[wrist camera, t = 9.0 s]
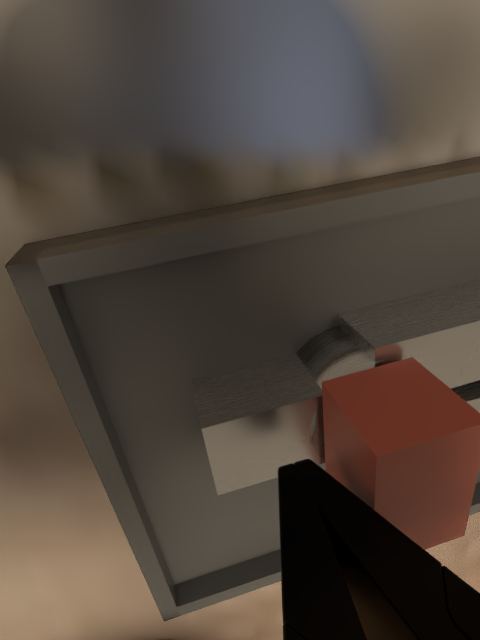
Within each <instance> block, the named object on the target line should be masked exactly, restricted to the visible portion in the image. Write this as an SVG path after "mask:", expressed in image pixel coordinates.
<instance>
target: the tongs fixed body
mask: <svg viewBox="0 0 480 640" xmlns="http://www.w3.org/2000/svg"><path fill="white" fill-rule="evenodd" d="M411 357H413V358H414V359H415V360H417V361H418V362H419V363H420V364H421V365H423V366H424V367H425V368H426V369H427V370H429V371H430V372H431V373H432V374H433V375H435V376H436V377H437V378H438V379H439V380H441V381H442V382H443V383H444V384H445V385H447V386H448V387H449V388H450V389H451V388H454V387H458V386H461V385H465V384H468V383H471V382H475V381H478V380H480V279H476V280H472V281H468V282H464V283H460V284H456V285H452V286H448V287H444V288H440V289H436V290H432V291H427V292H423V293H419V294H415V295H411V296H407V297H403V298H399V299H395V300H391V301H387V302H383V303H379V304H374V305H370V306H366V307H362V308H358V309H354V310H350V311H346V312H342V313H338V326H335V327H332V328H329V329H327V330H324V331H322V332H321V333H319V334H317V335H316V336H314V337H313V338H311V339H310V340H309V341H308V342H307V343H305V344H304V345H303V346H302V347H301V348H300V350H299V351H298V352H297V353H296V354H293V355H289V356H285V357H282V358H278V359H274V360H270V361H266V362H262V363H258V364H254V365H250V366H247V367H243V368H239V369H235V370H231V371H227V372H223V373H219V374H215V375H212V376H208V377H204V378H200V379H196V380H192V381H191V385H192V389H193V394H194V398H195V403H196V407H197V412H198V416H199V420H200V425H201V429H202V433H203V437H204V442H205V446H206V450H207V454H208V458H209V462H210V466H211V470H212V474H213V478H214V482H215V486H216V491H217V495H221V494H225V493H228V492H231V491H234V490H238V489H241V488H244V487H247V486H251V485H254V484H257V483H261V482H264V481H267V480H270V479H274V478H277V477H278V468H279V467H280V466H284V465H287V464H290V463H293V464H294V463H295V462H297V461H300V460H304V459H311V460H312V461H313V462H315V463H316V464H317V465H320V464H323V463H325V444H324V421H323V399H322V382H323V381H326V380H330V379H334V378H337V377H341V376H345V375H348V374H352V373H356V372H359V371H363V370H367V369H370V368H374V367H378V366H381V365H385V364H389V363H392V362H396V361H400V360H404V359H407V358H411Z"/></svg>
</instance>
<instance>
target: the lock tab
mask: <svg viewBox="0 0 480 640" xmlns="http://www.w3.org/2000/svg"><path fill="white" fill-rule="evenodd" d="M322 399H323V421H324V444H325V467H326V472H327V473H329V474H330V475H331V476H332V477H334V478H335V479H336V480H337V481H339V482H340V483H341V484H342V485H344V486H345V487H346V488H347V489H349V490H350V491H351V492H352V493H354V494H355V495H356V496H357V497H359V498H360V499H361V500H362V501H364V502H365V503H366V504H367V505H369V506H370V507H371V508H372V509H374V510H375V511H376V512H377V513H379V514H380V515H381V516H383V517H384V518H385V519H386V520H388V521H389V522H390V523H391V524H393V525H394V526H395V527H396V528H398V529H399V530H400V531H401V532H403V533H404V534H405V535H406V536H408V537H409V538H410V539H411V540H413V541H414V542H415V543H416V544H418V545H419V546H420V547H421V548H423V549H424V550H425V549H427V548H430V547H433V546H436V545H439V544H442V543H444V542H447V541H450V540H453V539H456V538H458V537H461V536H464V534H465V530H466V526H467V521H468V517H469V512H470V508H471V503H472V499H473V494H474V490H475V486H476V481H477V477H478V472H479V468H480V413H479V412H478V411H477V410H476V409H474V408H473V407H472V406H471V405H470V404H468V403H467V402H466V401H465V400H464V399H462V398H461V397H460V396H459V395H458V394H456V393H455V392H454V391H453V390H451V389H450V388H449V387H448V386H447V385H445V384H444V383H443V382H442V381H441V380H439V379H438V378H437V377H436V376H435V375H433V374H432V373H431V372H430V371H429V370H427V369H426V368H425V367H424V366H423V365H421V364H420V363H419V362H418V361H417V360H415V359H414V358H413V357H411V358H407V359H404V360H400V361H396V362H392V363H389V364H385V365H381V366H378V367H374V368H370V369H367V370H363V371H359V372H356V373H352V374H348V375H345V376H341V377H337V378H334V379H330V380H326V381H323V382H322Z"/></svg>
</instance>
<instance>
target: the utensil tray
mask: <svg viewBox="0 0 480 640" xmlns="http://www.w3.org/2000/svg"><path fill="white" fill-rule="evenodd" d="M5 266H6V269H7V271H8V273H9V275H10V278H11V280H12V282H13V284H14V287H15V289H16V291H17V293H18V296H19V298H20V300H21V302H22V305H23V307H24V309H25V311H26V313H27V316H28V318H29V320H30V322H31V325H32V327H33V329H34V331H35V334H36V336H37V338H38V340H39V343H40V345H41V347H42V349H43V352H44V354H45V356H46V358H47V360H48V363H49V365H50V367H51V369H52V372H53V374H54V376H55V378H56V381H57V383H58V385H59V387H60V390H61V392H62V394H63V396H64V399H65V401H66V403H67V405H68V407H69V410H70V412H71V414H72V416H73V419H74V421H75V423H76V425H77V428H78V430H79V432H80V434H81V437H82V439H83V441H84V443H85V446H86V448H87V450H88V452H89V454H90V457H91V459H92V461H93V463H94V466H95V468H96V470H97V472H98V475H99V477H100V479H101V481H102V484H103V486H104V488H105V490H106V492H107V495H108V497H109V499H110V501H111V504H112V506H113V508H114V510H115V513H116V515H117V517H118V519H119V522H120V524H121V526H122V528H123V531H124V533H125V535H126V537H127V539H128V542H129V544H130V546H131V548H132V551H133V553H134V555H135V557H136V560H137V562H138V564H139V566H140V569H141V571H142V573H143V575H144V578H145V580H146V582H147V584H148V586H149V589H150V591H151V593H152V595H153V598H154V600H155V602H156V604H157V607H158V609H159V611H160V613H161V616H162V618H163V620H164V621H167V620H169V619H172V618H175V617H178V616H181V615H184V614H187V613H190V612H192V611H195V610H198V609H201V608H204V607H207V606H210V605H213V604H215V603H218V602H221V601H224V600H227V599H230V598H233V597H236V596H238V595H241V594H244V593H247V592H250V591H253V590H256V589H259V588H262V587H264V586H267V585H270V584H273V583H276V582H279V581H281V554H280V526H279V498H278V477H277V478H274V479H270V480H267V481H264V482H261V483H257V484H254V485H251V486H247V487H244V488H241V489H238V490H234V491H231V492H228V493H225V494H221V495H217V491H216V486H215V482H214V478H213V474H212V470H211V466H210V462H209V458H208V454H207V450H206V446H205V442H204V437H203V433H202V429H201V425H200V420H199V416H198V412H197V407H196V403H195V398H194V394H193V389H192V385H191V381H192V380H196V379H200V378H204V377H208V376H212V375H215V374H219V373H223V372H227V371H231V370H235V369H239V368H243V367H247V366H250V365H254V364H258V363H262V362H266V361H270V360H274V359H278V358H282V357H285V356H289V355H293V354H296V353H297V352H298V351H299V350H300V348H301V347H302V346H303V345H304V344H305V343H307V342H308V341H309V340H310V339H311V338H313V337H314V336H316V335H317V334H319V333H321V332H322V331H324V330H327V329H329V328H332V327H335V326H338V313H342V312H346V311H350V310H354V309H358V308H362V307H366V306H370V305H374V304H379V303H383V302H387V301H391V300H395V299H399V298H403V297H407V296H411V295H415V294H419V293H423V292H427V291H432V290H436V289H440V288H444V287H448V286H452V285H456V284H460V283H464V282H468V281H472V280H476V279H480V157H477V158H472V159H467V160H462V161H456V162H451V163H446V164H441V165H436V166H430V167H425V168H420V169H415V170H409V171H404V172H399V173H394V174H389V175H383V176H378V177H373V178H368V179H363V180H357V181H352V182H347V183H342V184H336V185H331V186H326V187H321V188H316V189H310V190H305V191H300V192H295V193H290V194H284V195H279V196H274V197H269V198H263V199H258V200H253V201H248V202H243V203H237V204H232V205H227V206H222V207H217V208H211V209H206V210H201V211H196V212H190V213H185V214H180V215H175V216H170V217H164V218H159V219H154V220H149V221H143V222H138V223H133V224H128V225H123V226H117V227H112V228H107V229H102V230H97V231H91V232H86V233H81V234H76V235H70V236H65V237H60V238H55V239H50V240H44V241H39V242H34V243H29V244H24V245H23V247H22V248H21V249H20V250H19V251H18V252H17V253H16V254H15V255H14V256H13V258H12V259H11V260H10V261H9V262H8V263H7V264H6V265H5ZM318 466H320V467H321V468H322V469H324V470H325V471H326V467H325V463H323V464H320V465H318ZM477 512H480V468H479V472H478V477H477V481H476V486H475V490H474V494H473V499H472V503H471V508H470V512H469V515H472V514H474V513H477Z"/></svg>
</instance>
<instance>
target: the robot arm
mask: <svg viewBox="0 0 480 640" xmlns="http://www.w3.org/2000/svg"><path fill="white" fill-rule="evenodd" d="M278 498H279V526H280V554H281V582H282V610H283V624H284V625H283V640H480V593H479V592H477V591H476V590H475V589H473V588H472V587H471V586H470V585H468V584H467V583H466V582H464V581H463V580H462V579H460V578H459V577H458V576H457V575H455V574H454V573H453V572H452V571H451V570H449V569H448V568H447V567H445V566H441V563H440V562H439V561H438V560H436V559H435V558H434V557H433V556H431V555H430V554H429V553H428V552H426V551H425V550H424V549H423V548H421V547H420V546H419V545H418V544H416V543H415V542H414V541H413V540H411V539H410V538H409V537H408V536H406V535H405V534H404V533H403V532H401V531H400V530H399V529H398V528H396V527H395V526H394V525H393V524H391V523H390V522H389V521H388V520H386V519H385V518H384V517H383V516H381V515H380V514H379V513H377V512H376V511H375V510H374V509H372V508H371V507H370V506H369V505H367V504H366V503H365V502H364V501H362V500H361V499H360V498H359V497H357V496H356V495H355V494H354V493H352V492H351V491H350V490H349V489H347V488H346V487H345V486H344V485H342V484H341V483H340V482H339V481H337V480H336V479H335V478H334V477H332V476H331V475H330V474H329V473H327V472H326V471H325V470H324V469H322V468H321V467H320V466H318V465H317V464H316V463H315V462H313V461H312V460H311V459H304V460H300V461H297V462H295V463H294V464H293V463H290V464H287V465H284V466H280V467H279V468H278Z"/></svg>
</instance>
